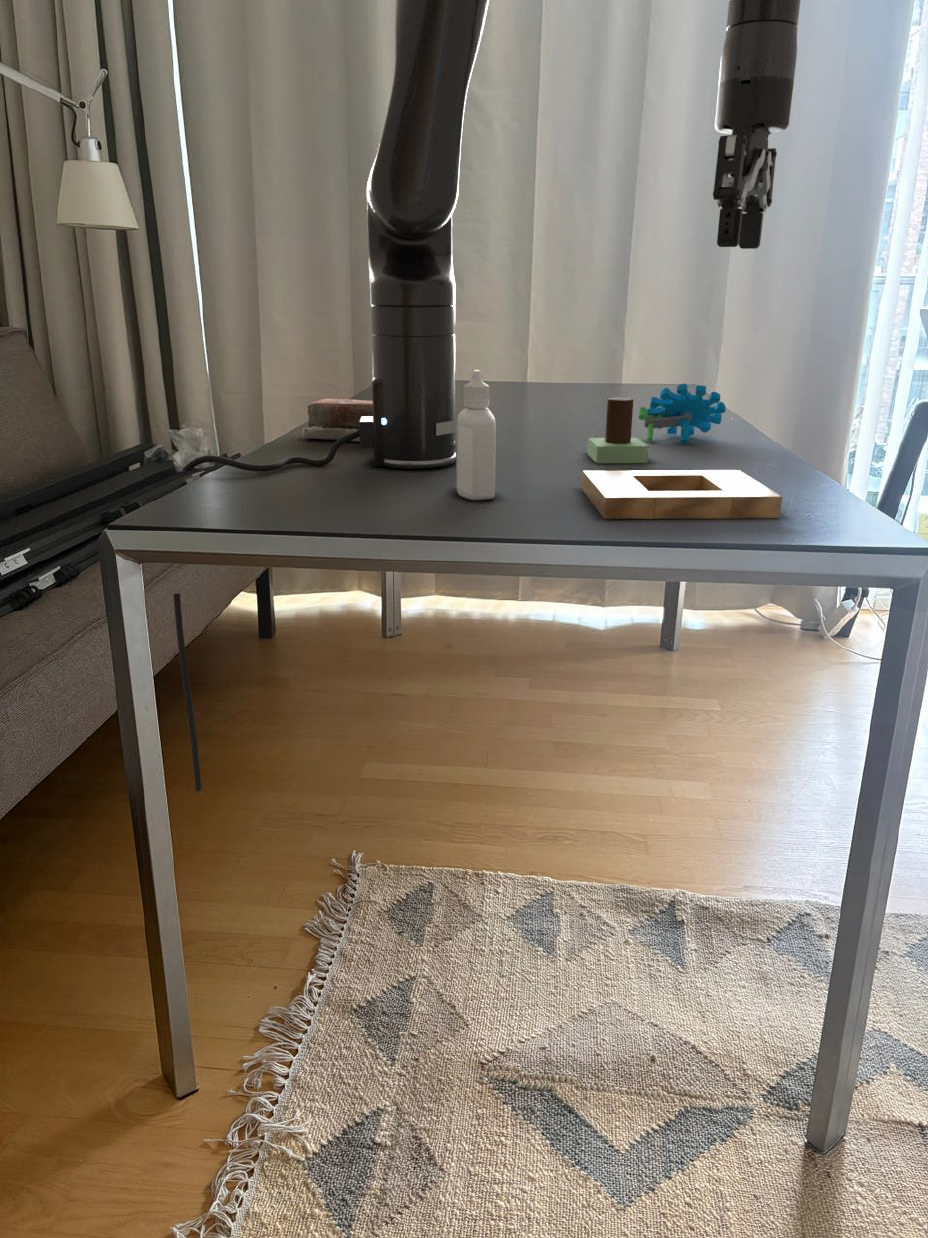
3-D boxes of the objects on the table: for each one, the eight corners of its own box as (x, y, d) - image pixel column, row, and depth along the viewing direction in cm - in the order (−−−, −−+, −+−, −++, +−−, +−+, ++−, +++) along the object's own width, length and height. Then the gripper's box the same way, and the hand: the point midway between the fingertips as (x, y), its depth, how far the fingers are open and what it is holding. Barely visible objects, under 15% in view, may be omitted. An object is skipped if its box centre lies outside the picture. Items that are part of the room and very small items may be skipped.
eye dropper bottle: (447, 500, 90) (447, 372, 86) (459, 487, 95) (460, 367, 91) (491, 502, 89) (494, 373, 85) (502, 490, 95) (504, 368, 90)
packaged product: (298, 402, 120) (326, 393, 129) (300, 440, 122) (327, 428, 131) (433, 407, 116) (452, 397, 126) (433, 446, 118) (452, 433, 127)
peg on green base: (596, 463, 108) (599, 402, 106) (587, 454, 114) (590, 395, 111) (647, 463, 108) (652, 402, 106) (636, 453, 114) (640, 395, 112)
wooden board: (604, 519, 84) (605, 497, 83) (582, 490, 95) (583, 470, 94) (779, 518, 84) (782, 496, 84) (737, 489, 96) (739, 469, 95)
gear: (728, 424, 125) (722, 375, 117) (727, 460, 123) (721, 413, 114) (645, 431, 129) (634, 384, 121) (643, 466, 127) (631, 421, 118)
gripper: (738, 93, 104) (723, 249, 110) (699, 70, 93) (684, 246, 98) (808, 87, 101) (788, 249, 106) (776, 63, 89) (756, 245, 95)
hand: (738, 247), depth 102 cm, fingers open, 8 cm apart
